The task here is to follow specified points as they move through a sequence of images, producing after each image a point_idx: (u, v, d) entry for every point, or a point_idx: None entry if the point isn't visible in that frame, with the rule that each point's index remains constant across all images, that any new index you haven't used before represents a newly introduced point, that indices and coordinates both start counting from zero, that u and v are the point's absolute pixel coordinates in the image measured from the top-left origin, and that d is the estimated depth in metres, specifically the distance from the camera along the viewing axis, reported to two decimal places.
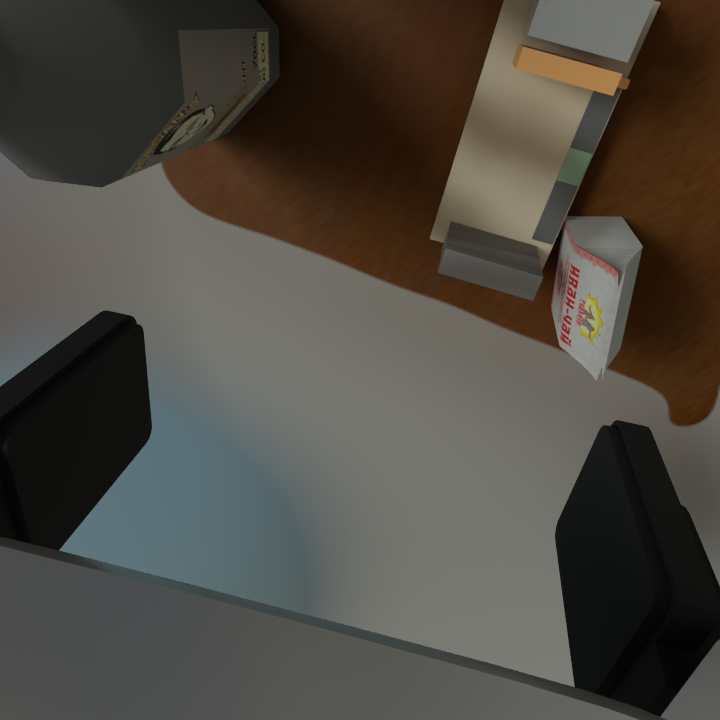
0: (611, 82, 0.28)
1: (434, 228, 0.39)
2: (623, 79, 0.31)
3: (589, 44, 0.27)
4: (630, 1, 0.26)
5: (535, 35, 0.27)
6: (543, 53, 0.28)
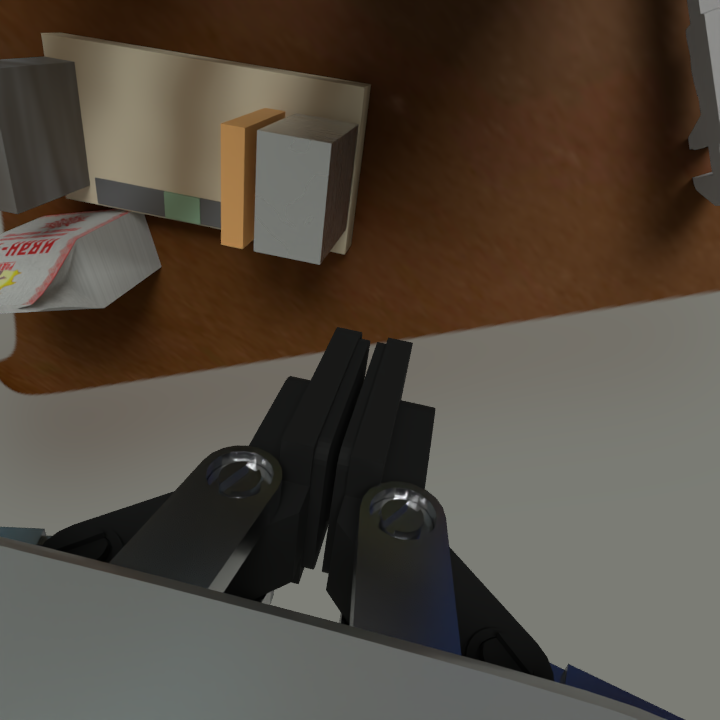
0: (232, 239, 0.24)
1: (56, 38, 0.27)
2: None
3: (261, 206, 0.23)
4: (306, 239, 0.24)
5: (258, 140, 0.22)
6: (243, 155, 0.22)
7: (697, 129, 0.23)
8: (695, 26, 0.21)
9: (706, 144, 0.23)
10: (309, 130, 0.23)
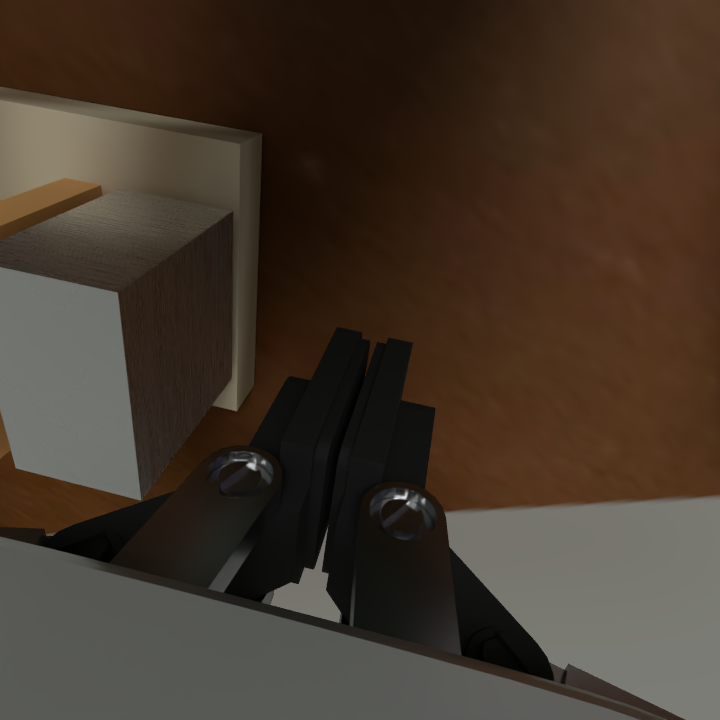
0: None
1: None
2: None
3: (9, 397, 0.11)
4: (106, 459, 0.12)
5: None
6: None
7: None
8: None
9: None
10: (102, 244, 0.11)
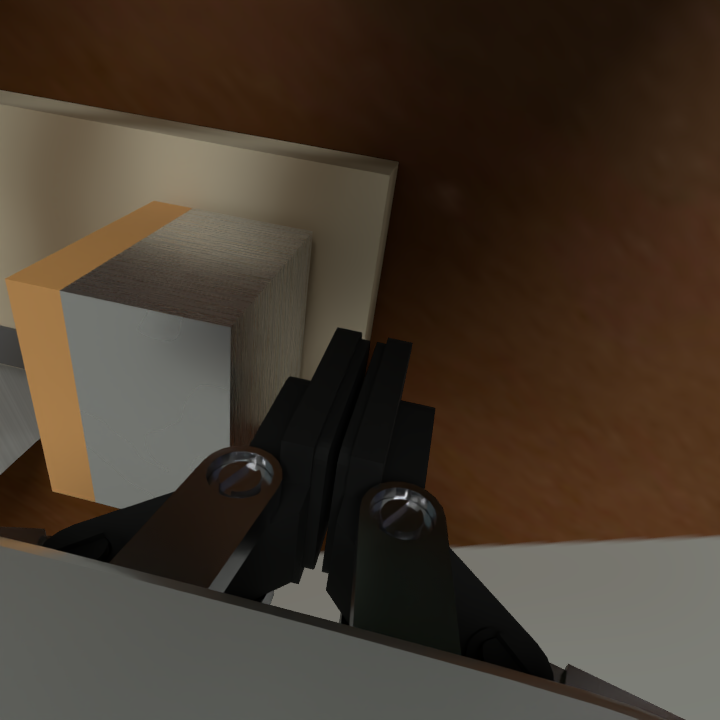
0: (73, 485, 0.12)
1: None
2: None
3: (97, 432, 0.11)
4: None
5: (67, 311, 0.10)
6: (66, 343, 0.10)
7: None
8: None
9: None
10: (196, 271, 0.11)
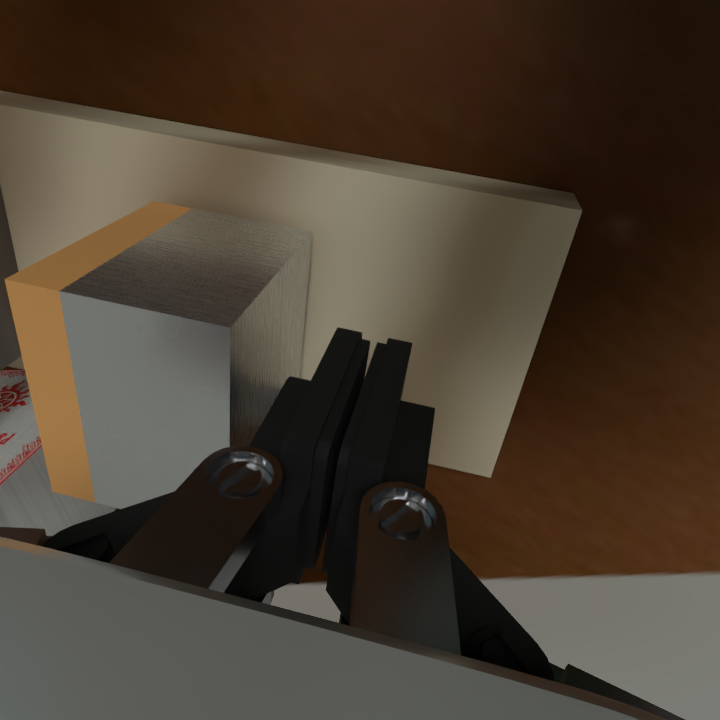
0: (72, 486, 0.12)
1: None
2: None
3: (96, 432, 0.11)
4: None
5: (67, 312, 0.10)
6: (66, 343, 0.10)
7: None
8: None
9: None
10: (196, 272, 0.11)
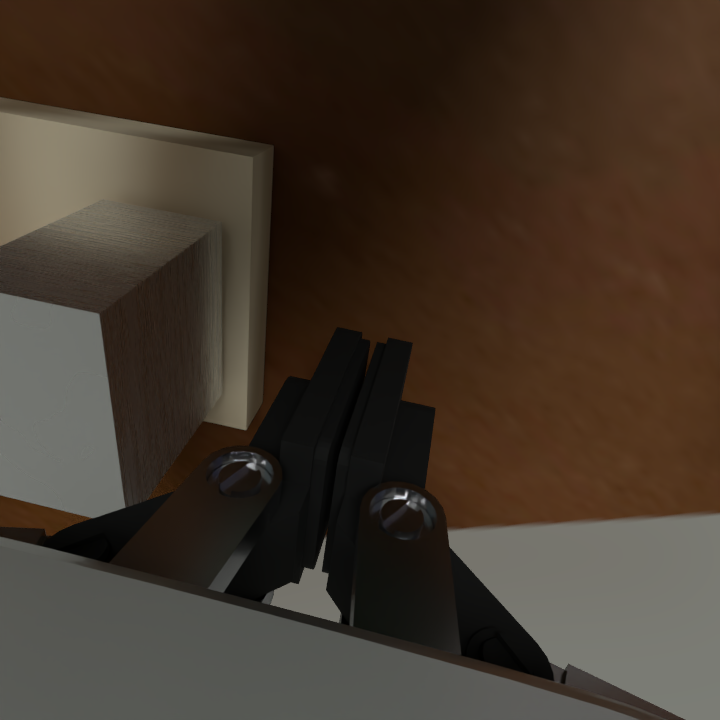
0: None
1: None
2: None
3: None
4: (91, 484, 0.11)
5: None
6: None
7: None
8: None
9: None
10: (83, 260, 0.11)
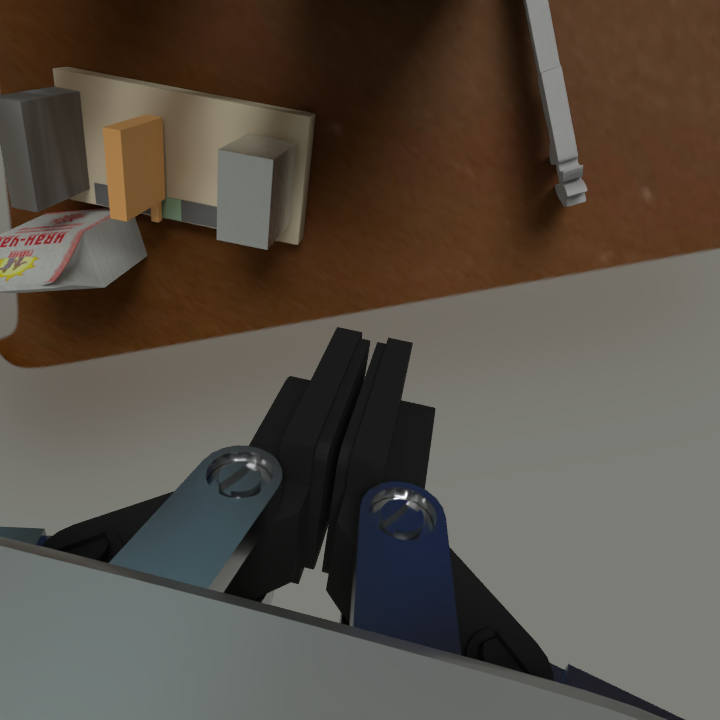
0: (118, 214, 0.32)
1: (65, 72, 0.34)
2: (157, 216, 0.37)
3: (222, 205, 0.31)
4: (256, 230, 0.32)
5: (219, 157, 0.30)
6: (121, 150, 0.30)
7: (550, 150, 0.32)
8: (539, 79, 0.30)
9: (554, 162, 0.31)
10: (257, 149, 0.31)
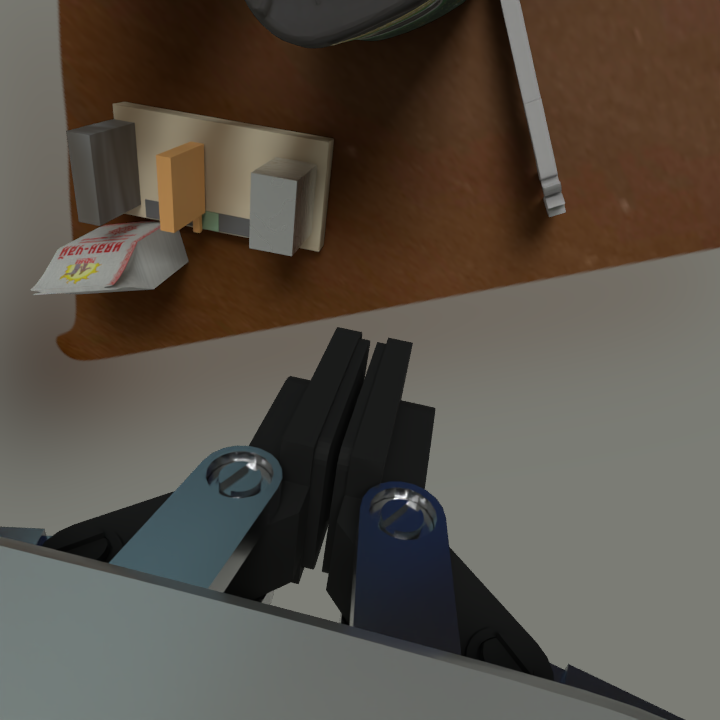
0: (167, 227, 0.38)
1: (123, 107, 0.40)
2: (198, 228, 0.43)
3: (254, 219, 0.37)
4: (283, 240, 0.37)
5: (252, 178, 0.35)
6: (170, 174, 0.36)
7: (537, 168, 0.37)
8: (524, 108, 0.34)
9: None
10: (284, 171, 0.37)
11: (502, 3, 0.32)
